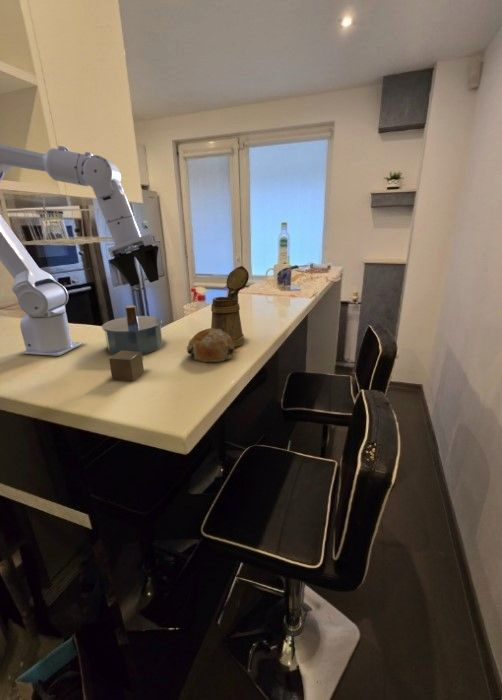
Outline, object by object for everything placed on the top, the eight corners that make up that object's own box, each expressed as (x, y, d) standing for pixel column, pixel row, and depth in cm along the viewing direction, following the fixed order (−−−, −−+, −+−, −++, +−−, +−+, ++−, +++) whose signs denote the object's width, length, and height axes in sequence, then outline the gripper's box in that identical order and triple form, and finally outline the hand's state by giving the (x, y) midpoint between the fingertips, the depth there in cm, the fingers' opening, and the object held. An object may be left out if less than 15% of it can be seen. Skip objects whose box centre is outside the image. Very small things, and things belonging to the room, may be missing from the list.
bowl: (97, 354, 76) (93, 331, 74) (125, 337, 87) (122, 317, 85) (148, 357, 74) (145, 334, 72) (170, 339, 85) (168, 319, 83)
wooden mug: (258, 334, 89) (258, 266, 82) (233, 350, 77) (231, 272, 71) (229, 330, 92) (227, 265, 86) (202, 344, 81) (197, 270, 75)
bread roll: (219, 380, 70) (233, 349, 67) (177, 358, 71) (189, 326, 67) (230, 362, 79) (244, 335, 76) (193, 343, 80) (205, 315, 76)
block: (112, 379, 63) (108, 358, 61) (124, 370, 67) (121, 350, 65) (133, 381, 62) (130, 359, 61) (144, 371, 66) (141, 351, 65)
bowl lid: (90, 334, 73) (85, 312, 72) (122, 319, 86) (119, 299, 84) (146, 337, 71) (143, 314, 69) (171, 321, 84) (169, 301, 82)
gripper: (155, 209, 67) (177, 274, 72) (118, 225, 76) (141, 281, 81) (126, 214, 62) (152, 283, 67) (91, 230, 71) (116, 290, 76)
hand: (144, 283), depth 73 cm, fingers open, 7 cm apart
